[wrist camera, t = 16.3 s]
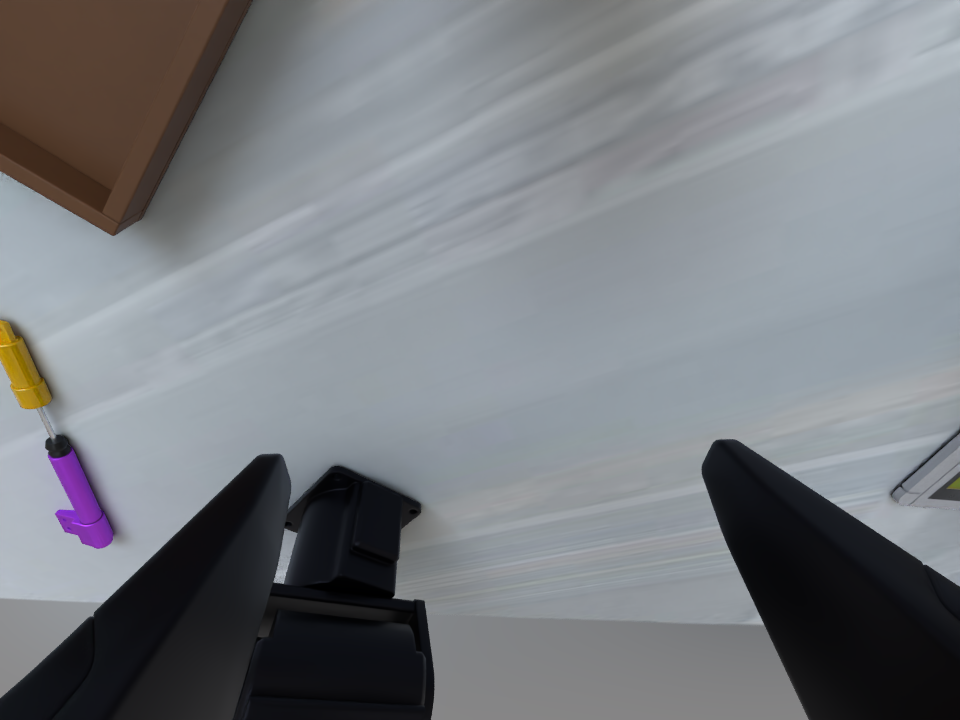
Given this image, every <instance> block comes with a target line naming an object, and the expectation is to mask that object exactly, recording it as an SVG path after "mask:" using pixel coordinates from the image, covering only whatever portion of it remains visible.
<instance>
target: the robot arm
mask: <svg viewBox="0 0 960 720" xmlns="http://www.w3.org/2000/svg"><path fill="white" fill-rule="evenodd" d="M337 474H338V475H337ZM702 476H703V479H704V482H705V485H706V488H707V491H708V493H709V496H710V499H711V502H712V505H713V508H714V511H715V513H716V516H717V519H718V522H719V525H720V528H721V531H722V533H723V536H724V538H725V541H726V543H727V546H728V548H729V550H730V552H731V555H732V557H733V559H734V561H735V563H736V565H737V567H738V569H739V572H740V574H741V576H742V578H743V580H744V582H745V584H746V587H747V589H748V591H749V593H750V595H751V597H752V599H753V602H754V604H755V606H756V608H757V610H758V612H759V614H760V616H761V619H762V621H763V623H764V625H765V627H766V629H767V631H768V633H769V635H770V638H771V640H772V642H773V644H774V646H775V649H776V651H777V653H778V655H779V657H780V659H781V661H782V663H783V665H784V667H785V670H786V672H787V674H788V676H789V678H790V681H791V683H792V685H793V687H794V689H795V691H796V693H797V695H798V698H799V700H800V702H801V704H802V706H803V708H804V710H805V713H806V715H807V717H808V719H809V720H960V587H959V586H958V585H956V584H955V583H953V582H952V581H950V580H949V579H947V578H946V577H944V576H942V575H941V574H939V573H938V572H936V571H935V570H933V569H932V568H930V567H929V566H927V565H923V564H922V562H921V561H920V560H918V559H917V558H915V557H914V556H912V555H911V554H909V553H907V552H906V551H904V550H903V549H901V548H900V547H898V546H897V545H895V544H894V543H892V542H891V541H889V540H888V539H886V538H885V537H883V536H882V535H880V534H879V533H877V532H876V531H874V530H873V529H871V528H870V527H868V526H866V525H865V524H863V523H862V522H860V521H859V520H857V519H856V518H854V517H853V516H851V515H850V514H848V513H847V512H845V511H844V510H842V509H841V508H839V507H838V506H836V505H835V504H833V503H832V502H830V501H829V500H827V499H826V498H824V497H822V496H821V495H819V494H818V493H816V492H815V491H813V490H812V489H810V488H809V487H807V486H806V485H804V484H803V483H801V482H800V481H798V480H797V479H795V478H794V477H792V476H791V475H789V474H788V473H786V472H785V471H783V470H782V469H780V468H778V467H777V466H775V465H774V464H772V463H771V462H769V461H768V460H766V459H765V458H763V457H762V456H760V455H759V454H757V453H756V452H754V451H753V450H751V449H750V448H748V447H747V446H745V445H744V444H742V443H741V442H739V441H737V440H734V439H721V440H716V441H715V442H713V444H712V446H711V448H710V450H709V452H708V454H707V456H706V458H705V460H704V462H703V464H702ZM290 494H291V480H290V477H289V474H288V470H287V467H286V464H285V461H284V458H283V456H282V455H281V454H261V455H259V456H257V457H256V458H255V459H254V460H253V461H252V462H251V463H250V464H249V465H247V466H246V467H245V468H244V469H243V470H242V471H241V472H240V473H239V474H238V475H237V476H236V477H235V478H234V479H233V480H232V481H231V482H230V483H229V484H228V485H227V486H226V487H225V488H223V489H222V490H221V491H220V492H219V493H218V494H217V495H216V496H215V497H214V498H213V499H212V500H211V501H210V502H209V503H208V504H207V505H206V506H205V507H204V508H203V509H202V510H200V511H199V512H198V513H197V514H196V515H195V516H194V517H193V518H192V519H191V520H190V521H189V522H188V523H187V524H186V525H185V526H184V527H183V528H182V529H181V530H180V531H179V532H178V533H176V534H175V535H174V536H173V537H172V538H171V539H170V540H169V541H168V542H167V543H166V544H165V545H164V546H163V547H162V548H161V549H160V550H159V551H158V552H157V553H156V554H155V555H153V556H152V557H151V558H150V559H149V560H148V561H147V562H146V563H145V564H144V565H143V566H142V567H141V568H140V569H139V570H138V571H137V572H136V573H135V574H134V575H133V576H132V577H130V578H129V579H128V580H127V581H126V582H125V583H124V584H123V585H122V586H121V587H120V588H119V589H118V590H117V591H116V592H115V593H114V594H113V595H112V596H111V597H110V598H109V599H108V600H106V601H105V602H104V603H103V604H102V605H101V606H100V607H99V608H98V609H97V610H96V611H95V612H94V617H89V618H87V619H86V620H85V621H84V622H83V623H82V624H81V625H80V626H79V627H78V628H77V629H76V630H75V631H74V632H73V633H72V634H71V635H70V636H69V637H68V638H67V639H65V640H64V641H63V642H62V643H61V644H60V645H59V646H58V647H57V648H56V649H55V650H54V651H52V652H51V653H50V654H49V655H48V656H47V657H46V658H45V659H44V660H43V661H42V662H41V663H40V664H39V665H38V666H37V667H35V668H34V669H33V670H32V671H31V672H30V673H29V674H28V675H26V676H25V677H24V678H23V679H22V680H21V681H20V682H18V683H17V684H16V685H15V686H14V687H13V688H12V689H10V690H9V691H8V692H7V693H6V694H5V695H4V696H2V697H1V698H0V720H431V716H432V709H433V701H434V669H433V661H432V653H431V647H430V639H429V631H428V623H427V616H426V608H425V602H424V600H416V599H415V600H414V601H410V600H402V599H394V598H392V597H394V595H395V585H396V570H397V561H398V559H399V552H400V537H401V529H402V528H403V527H405V526H406V525H407V524H408V523H409V522H411V521H412V520H413V519H414V518H416V517H417V516H418V515H419V514H420V513H421V504H420V503H418V502H416V501H414V500H412V499H410V498H408V497H406V496H403V495H401V494H399V493H397V492H395V491H393V490H391V489H388V488H386V487H384V486H382V485H380V484H378V483H375V482H373V481H371V480H369V479H367V478H365V477H363V476H360V475H358V474H356V473H354V472H352V471H350V470H348V469H345V468H343V467H340V466H333V467H331V468H330V469H329V470H328V471H327V472H326V473H325V474H324V475H323V476H322V477H321V478H320V479H319V480H318V481H317V482H316V483H315V484H314V485H313V486H312V487H311V488H309V489H308V490H307V491H306V492H305V493H304V494H303V495H302V496H301V497H300V498H299V499H298V500H297V501H296V502H295V503H294V504H293V505H292V506H291V507H290V508H289V509H288V505H289V499H290ZM284 528H285V529H288V530H290V531H293V532H296V533H297V537H296V540H295V544H294V548H293V551H292V555H291V559H290V562H289V566H288V570H287V573H286V577H285V581H284V584H280V583H273V581H274V578H275V574H276V570H277V567H278V562H279V557H280V551H281V545H282V540H283V534H284Z"/></svg>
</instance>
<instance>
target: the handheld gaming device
mask: <svg viewBox="0 0 960 720" xmlns="http://www.w3.org/2000/svg"><path fill="white" fill-rule="evenodd" d="M902 486H903V487H899V488H898V489H896V490H895V491H894V493H893V494H892V497H893V498H894V499H895V500H896V501H897V502H898V503H899V504H900V505H903V506H908V505H909V506H915V507H928V508H941V509H954V510H960V433H959V434H958V435H957V436H956V437H955V438H954V439H953V440H951V441H950V442H949V443H948V444H947V445H946V446H945V447H944V448H942V449H941V450H940V451H939V452H938V453H937V454H936V455H935V456H934V457H932V458H931V459H930V460H929V461H928V462H927V463H926V464H925V465H923V466H922V467H921V468H920V469H919V470H918V471H917V472H916V473H914V474H913V475H912V476H911V477H910V478H909V479H908V480H907V481H905V482H904V483H903V484H902Z"/></svg>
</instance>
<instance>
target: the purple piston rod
mask: <svg viewBox="0 0 960 720" xmlns="http://www.w3.org/2000/svg"><path fill="white" fill-rule="evenodd" d="M0 361H1V363H2V365H3V367H4V369H5V371H6V373H7V375H8V377H9V379H10V381H11V385H10V387H11V389H12V391H13V393H14V395H15V397H16V399H17V401H18V403H19V405H20V407H22V408H24V409H37V411H38V413H39V415H40V417H41V419H42V421H43V423H44V425H45V428H46V430H47V432H48V434H49V436H50V438H48V439H47V440H46V443H45V448H46V449H47V450H48V451H49V452H48V458H49V460H50V462H51V464H52V466H53V468H54V470H55V472H56V474H57V476H58V478H59V480H60V482H61V484H62V486H63V488H64V490H65V492H66V494H67V496H68V498H69V500H70V502H71V504H72V506H73V508H74V510H58V511H57V512H56V513H55V515H56V516H57V518H58V520H59V522H60V524H61V526H62V527H63V529H64V531H65V532H67V533H71V534H75V535H78V536H79V538H80V540H81V542H82V544H85V545H89V546H92V547H94V548H97V549H99V548H104V547H106V546H108V545H109V544H110V543H111V542H112V540H113V531H112V529H111V527H110V525H109V523H108V520H107V518H106V516H105V514H104V511H102V510H100V507H99V505H98V503H97V501H96V498H95V496H94V494H93V492H92V490H91V487H90V485H89V483H88V481H87V479H86V476H85V474H84V472H83V470H82V468H81V465H80V463H79V461H78V458H77V456H76V454H75V452H74V450H73V448H72V447H71V446H69V445H68V440H67V439H66V438H64V437H63V436H61V435H55V433H54V431H53V429H52V426H51V424H50V422H49V420H48V418H47V416H46V414H45V412H44V409H43V406H45V405H47V404H48V403H49V402H51V400H52V396H51V394H50V391H49V389H48V387H47V385H46V382H45V380H44V378H40V376H39V373H38V371H37V369H36V367H35V364H34V362H33V360H32V358H31V356H30V353H29V351H28V349H27V347H26V345H25V342H24V340H23V338H22V337H21V336H16V335H14V333H13V331H12V329H11V326H10V324H9V322H6V321H2V320H0Z"/></svg>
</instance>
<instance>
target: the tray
mask: <svg viewBox="0 0 960 720" xmlns="http://www.w3.org/2000/svg"><path fill="white" fill-rule="evenodd" d="M252 1H253V0H0V171H1V172H3V173H5V174H6V175H8V176H10V177H12V178H13V179H15V180H17V181H18V182H20V183H22V184H24V185H25V186H27V187H29V188H31V189H32V190H34V191H36V192H38V193H39V194H41V195H43V196H44V197H46V198H48V199H50V200H51V201H53V202H55V203H57V204H58V205H60V206H62V207H64V208H65V209H67V210H69V211H70V212H72V213H74V214H76V215H77V216H79V217H81V218H83V219H84V220H86V221H88V222H90V223H91V224H93V225H95V226H96V227H98V228H100V229H102V230H103V231H105V232H107V233H109V234H110V235H112V236H115V235H116V234H118V233H119V232H121V231H123V230H124V229H126V228H127V227H129V226H130V225H132V224H134V223H135V222H137V221H139V220H141V219H142V217H143V215H144V213H145V211H146V209H147V207H148V205H149V203H150V201H151V199H152V197H153V195H154V193H155V191H156V190H157V188H158V186H159V184H160V182H161V180H162V178H163V176H164V174H165V172H166V170H167V168H168V166H169V164H170V162H171V160H172V158H173V156H174V154H175V152H176V150H177V148H178V146H179V144H180V142H181V140H182V138H183V137H184V135H185V133H186V131H187V129H188V127H189V125H190V123H191V121H192V119H193V117H194V115H195V113H196V111H197V109H198V107H199V105H200V103H201V101H202V99H203V97H204V95H205V93H206V91H207V89H208V87H209V85H210V83H211V82H212V80H213V78H214V76H215V74H216V72H217V70H218V68H219V66H220V64H221V62H222V60H223V58H224V56H225V54H226V52H227V50H228V48H229V46H230V44H231V42H232V40H233V38H234V36H235V34H236V32H237V30H238V28H239V27H240V25H241V23H242V21H243V19H244V17H245V15H246V13H247V11H248V9H249V7H250V5H251V3H252Z"/></svg>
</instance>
